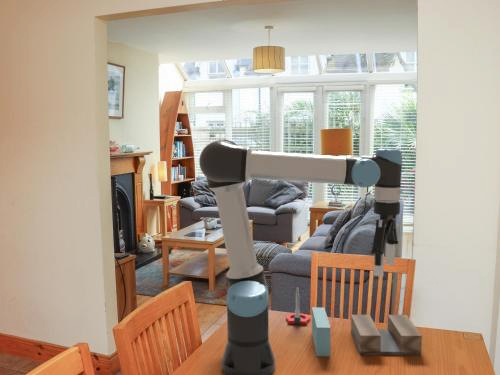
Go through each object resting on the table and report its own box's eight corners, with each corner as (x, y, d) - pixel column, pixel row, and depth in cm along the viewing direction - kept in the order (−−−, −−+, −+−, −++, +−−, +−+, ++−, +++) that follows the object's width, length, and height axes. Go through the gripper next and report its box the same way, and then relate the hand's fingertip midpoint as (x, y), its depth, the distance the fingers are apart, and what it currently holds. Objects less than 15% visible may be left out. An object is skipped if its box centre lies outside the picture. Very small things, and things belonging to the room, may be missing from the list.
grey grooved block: (360, 354, 143) (360, 335, 142) (351, 332, 159) (351, 314, 158) (421, 355, 142) (421, 335, 142) (405, 332, 158) (406, 314, 157)
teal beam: (330, 356, 142) (330, 327, 141) (316, 356, 143) (316, 327, 142) (324, 333, 158) (324, 307, 157) (311, 333, 158) (312, 307, 157)
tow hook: (286, 315, 175) (284, 324, 166) (287, 280, 174) (285, 288, 165) (310, 316, 173) (309, 326, 164) (310, 281, 173) (309, 289, 163)
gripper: (389, 207, 130) (386, 283, 133) (408, 196, 152) (405, 261, 154) (362, 205, 134) (359, 278, 137) (384, 194, 155) (382, 258, 158)
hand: (384, 270), depth 145 cm, fingers open, 13 cm apart
